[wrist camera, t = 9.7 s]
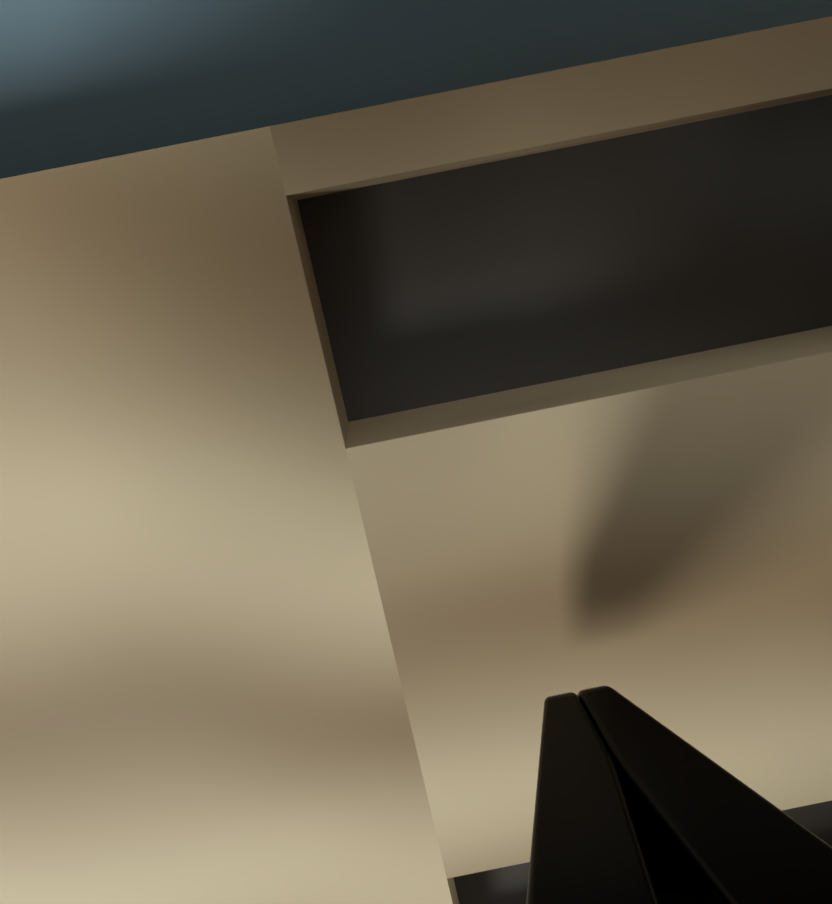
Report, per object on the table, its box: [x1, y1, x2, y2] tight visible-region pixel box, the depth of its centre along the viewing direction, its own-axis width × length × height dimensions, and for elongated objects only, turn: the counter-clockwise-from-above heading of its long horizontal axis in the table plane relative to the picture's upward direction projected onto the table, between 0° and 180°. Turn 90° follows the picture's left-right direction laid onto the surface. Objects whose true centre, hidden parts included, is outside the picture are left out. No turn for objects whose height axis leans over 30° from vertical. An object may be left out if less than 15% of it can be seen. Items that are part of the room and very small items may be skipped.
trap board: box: [0, 16, 832, 904], centre depth 8 cm, size 15×28×5 cm, turn 100°
